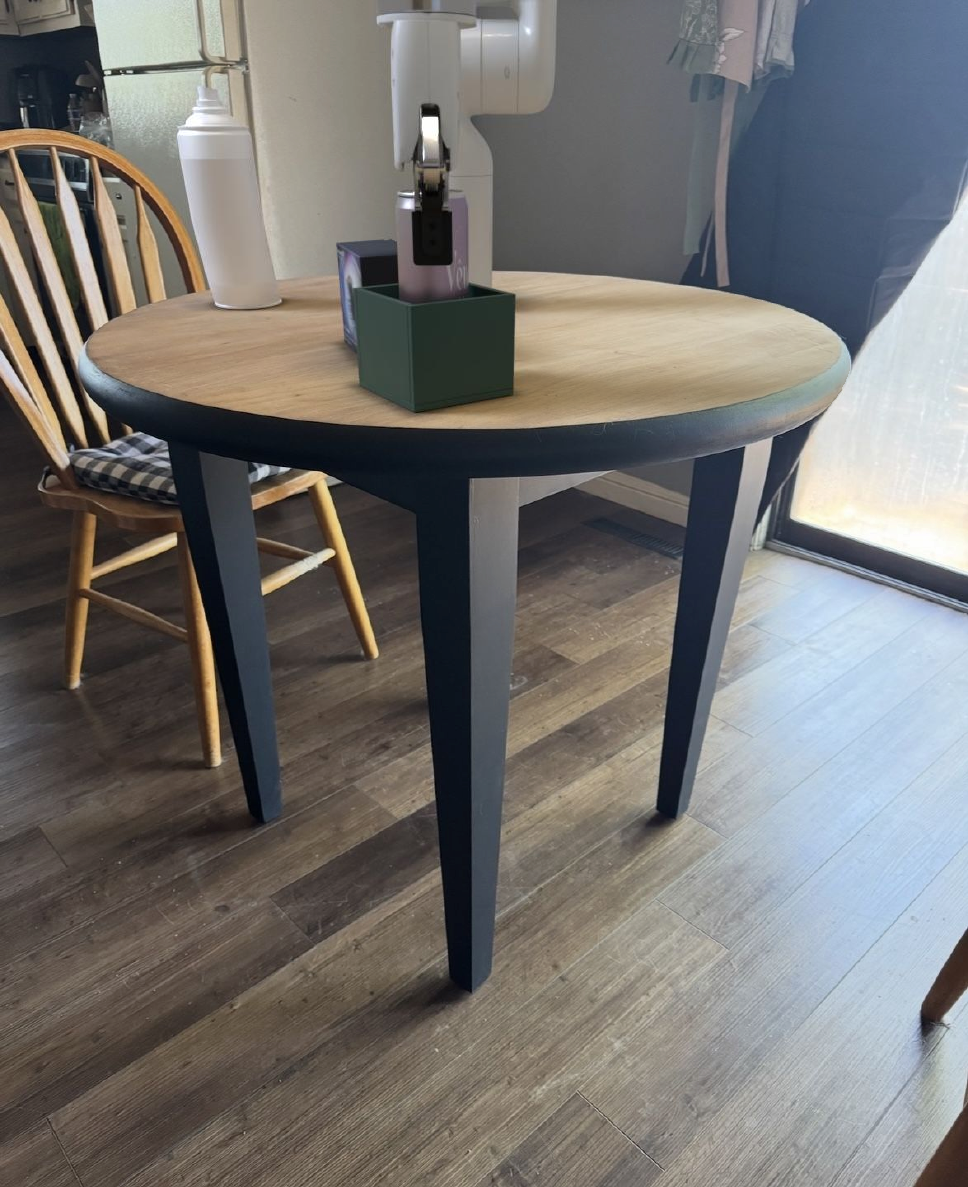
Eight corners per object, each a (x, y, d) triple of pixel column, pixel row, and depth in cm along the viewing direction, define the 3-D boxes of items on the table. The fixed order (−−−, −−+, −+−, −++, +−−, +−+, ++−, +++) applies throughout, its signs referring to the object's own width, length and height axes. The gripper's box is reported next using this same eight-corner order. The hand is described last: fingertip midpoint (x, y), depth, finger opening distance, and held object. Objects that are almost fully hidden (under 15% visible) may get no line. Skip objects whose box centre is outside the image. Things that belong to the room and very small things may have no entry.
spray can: (291, 310, 112) (269, 84, 100) (205, 316, 108) (172, 83, 96) (276, 295, 121) (254, 87, 109) (196, 300, 118) (165, 86, 106)
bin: (359, 385, 80) (352, 287, 76) (453, 370, 85) (451, 277, 81) (414, 412, 73) (410, 306, 69) (513, 394, 78) (515, 294, 74)
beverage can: (433, 363, 82) (429, 187, 75) (482, 373, 79) (482, 191, 72) (388, 375, 78) (379, 191, 71) (438, 386, 75) (434, 195, 68)
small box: (340, 343, 96) (332, 240, 91) (397, 338, 98) (393, 238, 93) (363, 365, 87) (356, 253, 82) (425, 360, 89) (422, 250, 84)
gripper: (380, 15, 73) (390, 246, 81) (370, -13, 57) (384, 275, 66) (470, 16, 73) (471, 246, 82) (484, -11, 58) (483, 274, 67)
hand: (432, 256), depth 74 cm, fingers closed on beverage can, 6 cm apart
